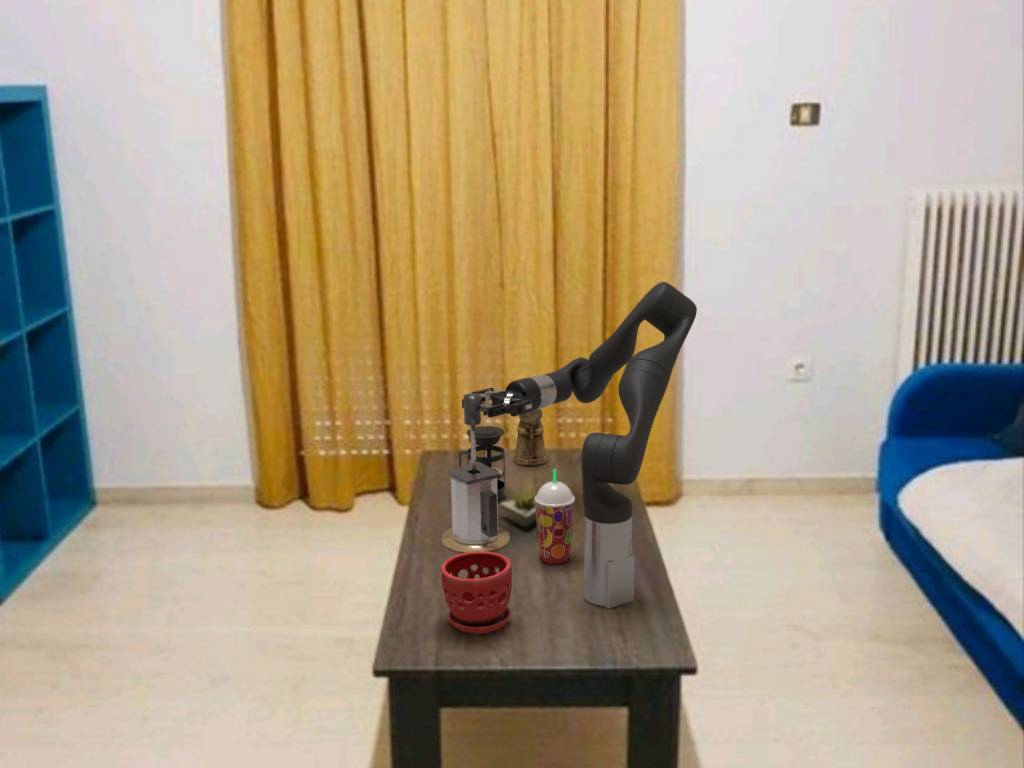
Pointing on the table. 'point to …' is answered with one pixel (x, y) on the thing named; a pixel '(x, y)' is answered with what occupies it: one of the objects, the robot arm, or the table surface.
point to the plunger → (472, 421)
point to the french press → (488, 450)
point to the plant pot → (477, 591)
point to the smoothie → (554, 521)
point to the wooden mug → (530, 440)
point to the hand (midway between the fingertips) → (475, 408)
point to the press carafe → (474, 511)
